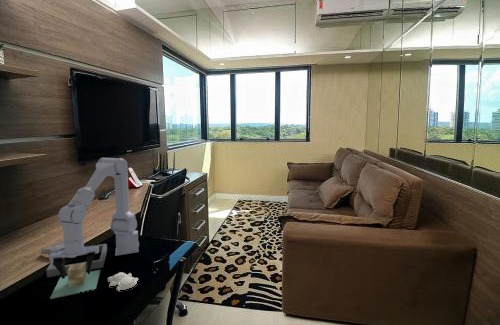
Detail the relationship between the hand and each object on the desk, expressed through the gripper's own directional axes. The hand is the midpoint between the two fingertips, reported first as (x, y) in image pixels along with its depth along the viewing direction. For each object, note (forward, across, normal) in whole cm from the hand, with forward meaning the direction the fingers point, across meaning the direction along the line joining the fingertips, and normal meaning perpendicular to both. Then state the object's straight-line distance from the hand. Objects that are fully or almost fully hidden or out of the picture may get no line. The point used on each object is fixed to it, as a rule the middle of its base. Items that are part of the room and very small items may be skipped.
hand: (76, 274), depth 93 cm
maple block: (+3, 0, 0) cm, 3 cm away
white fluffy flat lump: (+4, +15, -5) cm, 16 cm away
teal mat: (+3, 0, 0) cm, 3 cm away
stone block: (+4, -12, +31) cm, 34 cm away
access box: (+3, -2, +17) cm, 17 cm away
